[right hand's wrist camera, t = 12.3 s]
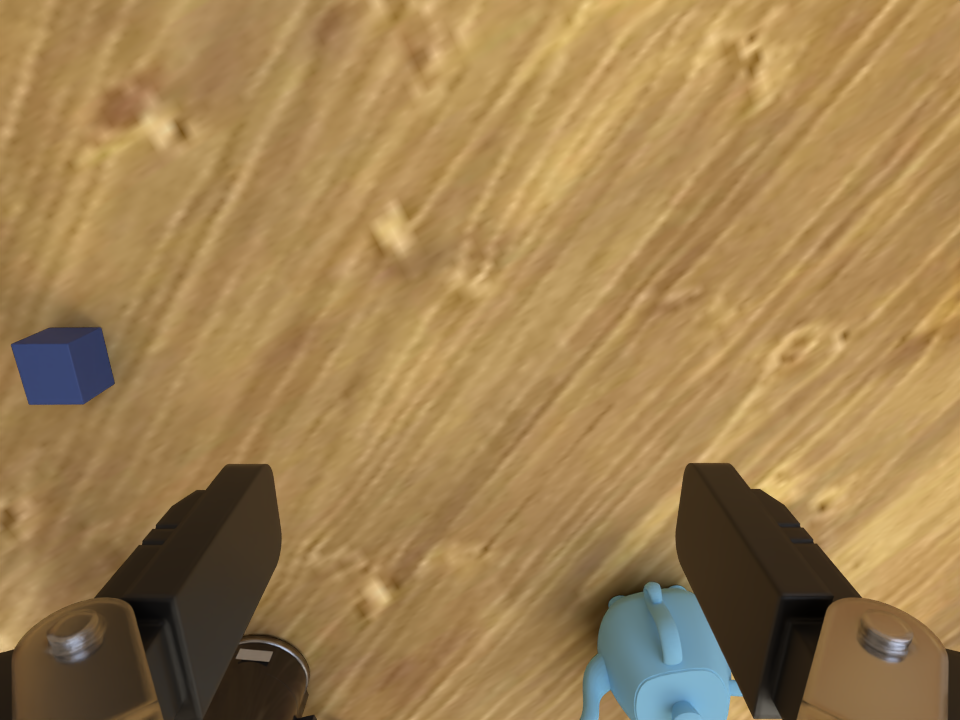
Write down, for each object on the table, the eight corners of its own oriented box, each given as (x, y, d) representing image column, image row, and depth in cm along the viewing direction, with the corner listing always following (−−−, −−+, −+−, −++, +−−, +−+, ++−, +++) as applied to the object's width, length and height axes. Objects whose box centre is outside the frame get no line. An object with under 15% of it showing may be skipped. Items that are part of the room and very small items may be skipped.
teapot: (739, 608, 57) (802, 708, 46) (643, 700, 60) (681, 814, 50) (643, 544, 55) (686, 634, 44) (548, 643, 58) (566, 750, 47)
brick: (64, 384, 48) (28, 405, 45) (48, 327, 47) (9, 344, 43) (115, 383, 48) (83, 404, 45) (101, 327, 47) (67, 343, 43)
